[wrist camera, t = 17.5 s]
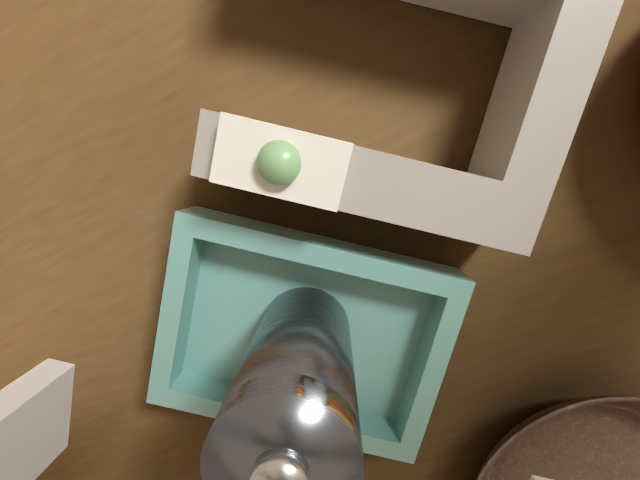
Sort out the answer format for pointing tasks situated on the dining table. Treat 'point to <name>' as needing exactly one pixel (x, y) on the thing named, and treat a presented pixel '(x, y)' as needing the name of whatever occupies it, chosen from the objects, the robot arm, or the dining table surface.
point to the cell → (291, 399)
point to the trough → (316, 272)
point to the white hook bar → (432, 180)
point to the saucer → (571, 443)
